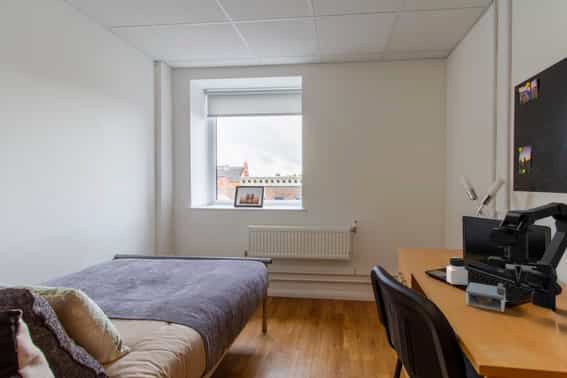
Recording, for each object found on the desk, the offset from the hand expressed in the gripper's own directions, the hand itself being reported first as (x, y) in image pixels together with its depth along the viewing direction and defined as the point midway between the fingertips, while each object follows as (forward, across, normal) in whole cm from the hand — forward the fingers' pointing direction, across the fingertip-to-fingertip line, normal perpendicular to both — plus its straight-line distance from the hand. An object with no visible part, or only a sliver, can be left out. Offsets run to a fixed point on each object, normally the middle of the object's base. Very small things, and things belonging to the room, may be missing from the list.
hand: (518, 287), depth 117 cm
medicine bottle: (+9, +23, -21) cm, 33 cm away
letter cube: (+8, +10, +1) cm, 13 cm away
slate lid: (+3, +10, 0) cm, 11 cm away
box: (+9, +10, 0) cm, 13 cm away
